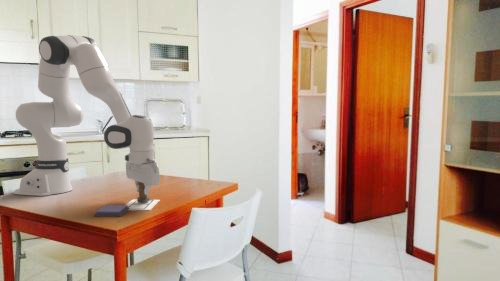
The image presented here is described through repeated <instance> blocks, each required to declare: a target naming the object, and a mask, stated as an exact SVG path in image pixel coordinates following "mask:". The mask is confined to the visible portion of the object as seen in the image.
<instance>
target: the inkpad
mask: <svg viewBox="0 0 500 281" xmlns="http://www.w3.org/2000/svg"><path fill="white" fill-rule="evenodd" d="M128 209H129V206H127V205H126V204H125V205H124V204H105V205H103V206H101V208H99V209H97V210H96V211H95V212H94V213H93V217H98V218H99V217H103V218H104V217H108V218H109V217H116V218H117V217H118V218H119V217H122V216H124V214H125V213H127V211H129V210H128Z"/></svg>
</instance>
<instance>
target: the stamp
mask: <svg viewBox="0 0 500 281" xmlns="http://www.w3.org/2000/svg"><path fill="white" fill-rule="evenodd" d="M138 185H139V192H138V197H137V201H138V202H147V201H149V200H150V197H149V196H148V195H145V194H143V190H144V189H145V186H144V183H142V182H139V181H138Z"/></svg>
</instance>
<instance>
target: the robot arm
mask: <svg viewBox="0 0 500 281" xmlns="http://www.w3.org/2000/svg"><path fill="white" fill-rule="evenodd" d="M38 44H39V45H38V51H39V52H38V53H39V55H40V60H39V66H38V81H37V88H38V90H39V92H41V93H42V94H43V95H44V96H46V97H48V98H50V99H52V101H51V102H49V101H48V102H46V101H32V102H26V103H21V104H20V105H18V106H17V108H16V111H15V120H16V121H17V123H18V124H19V125H20V126H22V128H25V129H26V130H27V131H28V132H29V133H30V134H31V135H32V136H33V138H34V140H35V142H36V148H37V154H38V155H37V157H38V159H37V160H35V161H33V162H32V165H31V166H34V168H33V169H32V170H31V171H29V172H28V173H27V174H26V175H24V176H23V177H22V178H21V179H20V183H19V188H17V189H14V191H13V195H22V196H24V195H25V196H38V197H39V196H40V197H44V196H45V197H46V196H49V195H50V196H51V195H56V194H63V193H64V194H65V193H68V192H70V191H72V190H73V186H72V183H71V181H70V179H71V178H70V175H69V171H70V170H69V169H70V168H69V158H68V149H67V148H68V145H67V141H66V139H64V138H63V137H61V136H59V135H56V134H54V133H53V132H52V128H70V127H76V126H79V125H81V123H82V121H83V119H84V111H83V109H82V107H81V106H80V105H79V104H78V103H76V102H75V101H74V100H73V98H72V97H71V95H70V94H71V93H70V89H69V88H70V86H69V85H70V71H71V70H70V67H71V66H73V65H74V66H75V68H76V71H77V74H78V77H79V80H80V82H81V84H82V86H83V87H84V89H85V90H86V92H87V93H88V94H90V95H91V96H94V97H95V98H97V99H99V100H101V101H102V102H103V103H105V105H107V106H108V107H109V109H110V111H111V113H112V116H113V118H114V119H115V122H116V123H115V124H112V125H109V126H107V127H106V129H105V130H104V133H103V140H104V142H105V144H106V145H107V147H109V148H111V149H114V150H121V149H126V148H128V149H129V153H128V154H125V155H124V161H125V173H126V177H127V179H129V180H133V181H134V184H135V187H136V192H137V193H139V185H138V181H139V182H142V183H144V186H145V189H144V190H143V194H145V195H147V196H148V195H150V189H151V187H152V186H156V185H157V186H158V185H159V184H160V181H161V176H160V175H161V174H160V167H159V165H158V164H157V162H156V161H155V148H154V139H155V134H154V125H153V124H154V123H153V121H152V119H151V118H150V117H148V116H145V115H137V114H134V115H132V114H131V111H130V110H129V108H128V106H127V104H126V102H125V99H124V97H123V96H122V94H121V92H120V91H119V87H117V84H116V82H115V80H114V78H113V75H112V72H111V70H110V68H109V65H108V63H107V60H106V59H105V57H104V55H103V54H102V51H101V50H100V48H99V46H98V44H97V41H96V40H94V39H93V38H92V37H88V36H84V35H83V36H80V35H73V34H72V35H70V34H68V35H67V34H66V35H56V36H55V35H50V36H49V35H48V36H45V37H43V38H41V40H40V42H39V43H38Z"/></svg>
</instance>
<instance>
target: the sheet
mask: <svg viewBox="0 0 500 281" xmlns="http://www.w3.org/2000/svg"><path fill="white" fill-rule="evenodd" d="M160 201H161V199H149V201H147V202H138V201H137V199H136V198H135V199H131V200H130V201H129V202H127V203H126V204H125V205H127V206H129V209H128V211H151V210H152V209H153V208H154V207H155V206H156V205H157V204H158V203H159V202H160Z"/></svg>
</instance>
